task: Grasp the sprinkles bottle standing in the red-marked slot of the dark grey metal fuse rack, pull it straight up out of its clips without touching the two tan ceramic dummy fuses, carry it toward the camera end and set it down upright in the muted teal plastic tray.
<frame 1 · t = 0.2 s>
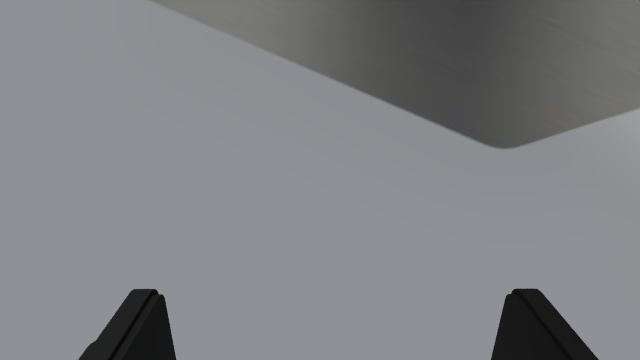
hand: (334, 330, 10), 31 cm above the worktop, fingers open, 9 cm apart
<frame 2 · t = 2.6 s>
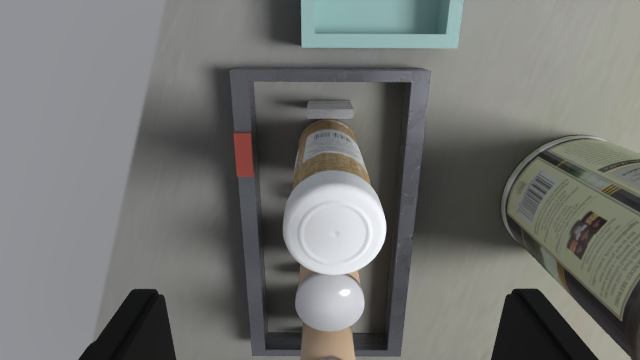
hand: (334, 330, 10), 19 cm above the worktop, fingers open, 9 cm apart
sprinkles bottle: (328, 146, 29), resting in fuse rack
dummy fuses: (327, 223, 31), resting in fuse rack
coffee can: (564, 195, 30), on the worktop
fuse rack: (327, 223, 31), on the worktop
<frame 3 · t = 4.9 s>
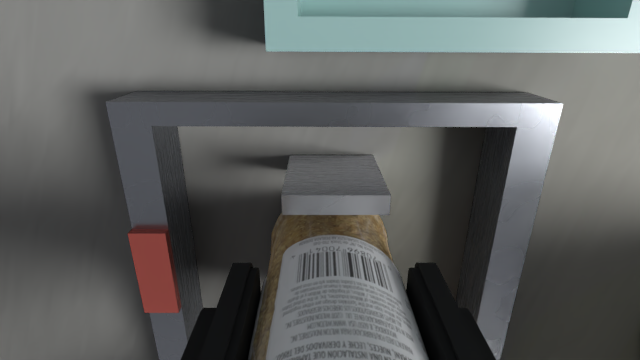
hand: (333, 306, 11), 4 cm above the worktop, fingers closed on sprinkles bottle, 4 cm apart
sprinkles bottle: (330, 236, 15), resting in fuse rack, touching gripper
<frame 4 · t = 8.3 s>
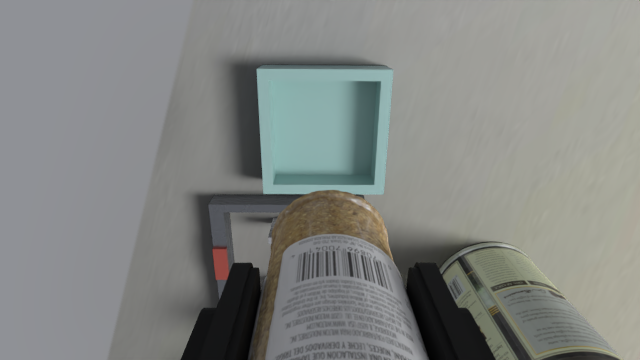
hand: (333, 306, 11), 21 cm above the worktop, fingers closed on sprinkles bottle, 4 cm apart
sprinkles bottle: (330, 235, 15), point 17 cm above the worktop, touching gripper
tray: (323, 126, 31), on the worktop
coffee can: (482, 284, 37), on the worktop
fuse rack: (291, 305, 38), on the worktop
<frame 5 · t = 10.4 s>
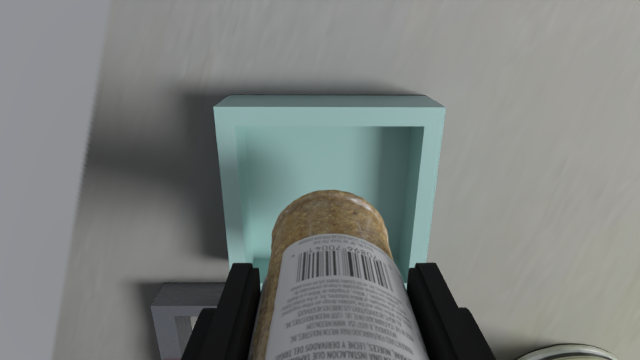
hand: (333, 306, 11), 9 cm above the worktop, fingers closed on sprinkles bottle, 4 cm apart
sprinkles bottle: (330, 235, 15), point 5 cm above the worktop, touching gripper
tray: (326, 186, 20), on the worktop
when the fingers open (6 cm above the worktop, at t = 12.0 s): sprinkles bottle stays where it is, resting on tray.
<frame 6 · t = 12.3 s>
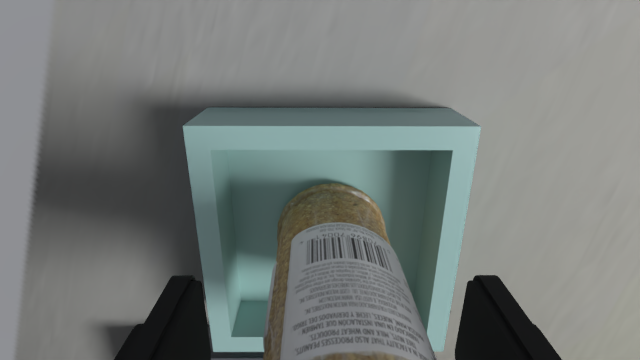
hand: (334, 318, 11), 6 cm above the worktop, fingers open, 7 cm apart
sprinkles bottle: (331, 225, 16), point 1 cm above the worktop, touching tray
tray: (328, 215, 17), on the worktop
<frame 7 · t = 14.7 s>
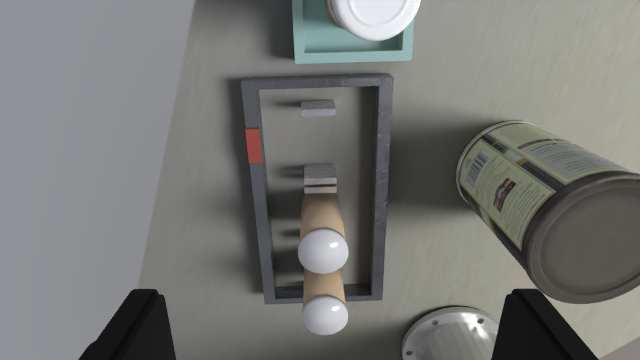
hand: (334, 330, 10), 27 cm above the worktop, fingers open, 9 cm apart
sprinkles bottle: (352, 0, 31), point 1 cm above the worktop, touching tray
dummy fuses: (320, 196, 39), resting in fuse rack
coffee can: (504, 167, 39), on the worktop
fuse rack: (320, 196, 39), on the worktop
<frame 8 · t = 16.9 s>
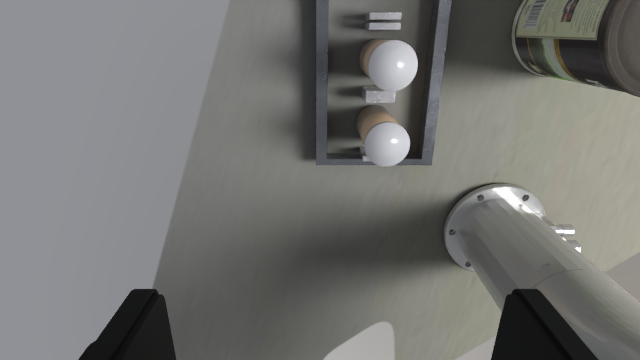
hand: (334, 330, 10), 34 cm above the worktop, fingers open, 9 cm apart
dummy fuses: (377, 50, 40), resting in fuse rack
coffee can: (559, 26, 40), on the worktop
fuse rack: (377, 50, 40), on the worktop
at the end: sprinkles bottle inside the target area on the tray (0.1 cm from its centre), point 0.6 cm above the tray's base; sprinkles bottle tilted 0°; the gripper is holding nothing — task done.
